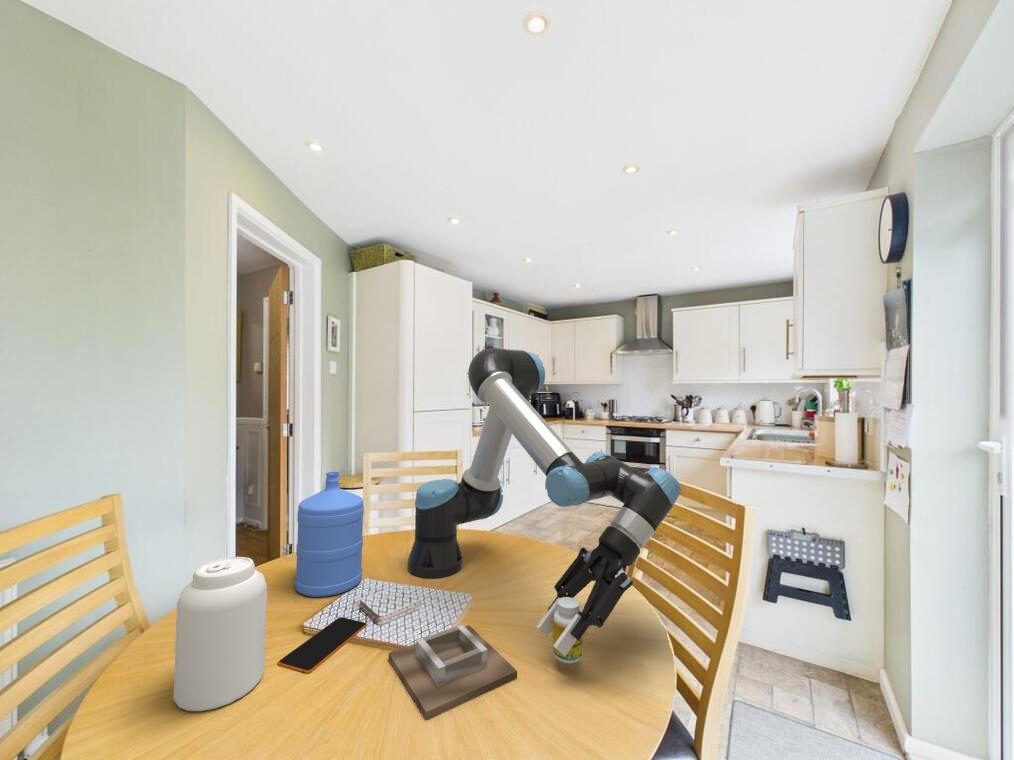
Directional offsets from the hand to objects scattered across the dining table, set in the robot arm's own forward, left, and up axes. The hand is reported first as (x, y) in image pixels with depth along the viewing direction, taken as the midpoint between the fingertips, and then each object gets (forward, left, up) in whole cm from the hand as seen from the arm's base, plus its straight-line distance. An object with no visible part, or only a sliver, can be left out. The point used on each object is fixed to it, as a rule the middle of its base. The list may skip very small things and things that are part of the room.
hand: (550, 641), depth 75 cm
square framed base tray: (-10, -14, -5) cm, 19 cm away
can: (-27, -48, -6) cm, 56 cm away
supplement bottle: (+1, +4, -4) cm, 5 cm away
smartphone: (-30, -31, -6) cm, 44 cm away
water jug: (-56, -25, -6) cm, 62 cm away
